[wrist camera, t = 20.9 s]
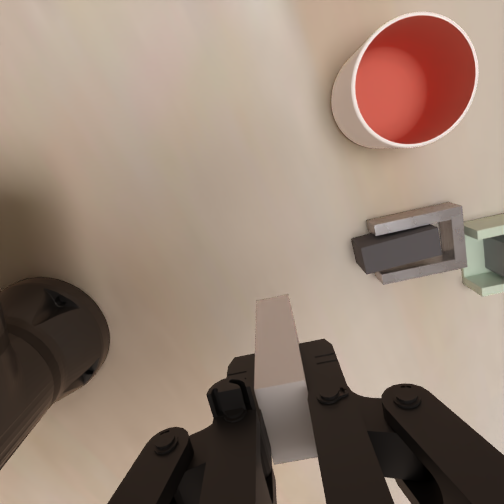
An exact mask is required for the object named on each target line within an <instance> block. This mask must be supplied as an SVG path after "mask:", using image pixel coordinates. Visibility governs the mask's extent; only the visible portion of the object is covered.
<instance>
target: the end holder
mask: <svg viewBox="0 0 504 504" xmlns="http://www.w3.org/2000/svg"><path fill="white" fill-rule="evenodd" d="M464 233H465V245H466V256H467V267H466V268H462V278H463V284H464V285H466V286H467V287H469V288H470V289H472V290H473V291H475V292H476V293H478V294H479V295H481V296H482V297H483V296H488V295H493V294H498V293H503V292H504V277H502V276H501V275H499V274H497V273H495V272H493V271H491V270H489V269H487V268H485V258H484V246H483V239H485V238H490V237H494V236H499V235H504V213H503V214H499V215H494V216H489V217H485V218H480V219H476V220H471V221H467V222H464Z"/></svg>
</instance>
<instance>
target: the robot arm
mask: <svg viewBox="0 0 504 504" xmlns="http://www.w3.org/2000/svg"><path fill="white" fill-rule="evenodd" d="M108 350H109V330H108V326H107V323H106V320H105V318H104V316H103V314H102V312H101V311H100V309H99V308H98V306H97V305H96V304H95V303H94V301H93V300H92V299H91V298H90V297H89V296H87V295H86V294H85V293H84V292H82V291H81V290H80V289H78V288H76V287H75V286H73V285H71V284H69V283H66V282H63V281H60V280H57V279H52V278H30V279H25V280H22V281H19V282H17V283H15V284H13V285H11V286H9V287H7V288H6V289H4V290H2V291H0V470H1V469H2V467H3V466H4V465H5V463H6V462H7V461H8V460H9V458H10V457H11V456H12V455H13V453H14V452H15V451H16V449H17V448H18V447H19V446H20V444H21V443H22V442H23V441H24V439H25V438H26V437H27V436H28V434H29V433H30V432H31V430H32V429H33V428H34V427H35V425H36V424H37V423H38V422H39V420H40V419H41V418H42V416H43V415H44V414H45V413H46V411H47V410H48V409H49V408H50V406H51V405H52V404H53V403H55V402H56V401H58V400H60V399H62V398H63V397H65V396H67V395H69V394H70V393H72V392H74V391H76V390H77V389H79V388H81V387H82V386H84V385H85V384H86V383H87V382H88V381H90V380H91V379H92V377H93V376H94V375H95V374H96V372H97V371H98V370H99V368H100V367H101V366H102V364H103V362H104V361H105V359H106V356H107V353H108ZM207 398H208V401H209V405H210V408H211V411H212V414H213V417H214V419H213V424H211V425H210V426H209V427H207V428H205V429H203V430H201V431H199V432H197V433H195V434H192V435H190V436H189V435H188V432H187V431H186V430H185V429H184V428H180V427H173V428H168V429H165V430H163V431H161V432H159V433H157V434H156V435H155V436H153V437H152V438H151V439H150V440H149V442H148V443H147V444H146V445H145V447H144V448H143V450H142V451H141V453H140V455H139V456H138V458H137V459H136V461H135V462H134V464H133V465H132V467H131V468H130V470H129V471H128V473H127V474H126V476H125V478H124V479H123V481H122V482H121V484H120V485H119V487H118V488H117V490H116V491H115V493H114V494H113V496H112V497H111V499H110V501H109V502H108V504H277V501H276V480H275V476H274V472H273V469H272V458H273V462H274V465H275V464H281V463H286V462H292V461H298V460H304V459H309V458H315V457H318V460H319V466H320V471H321V477H322V482H323V487H324V493H325V498H326V504H394V502H393V499H392V496H391V494H390V491H389V489H388V486H387V483H386V481H385V478H384V477H388V478H395V480H396V482H397V484H398V486H399V487H400V489H401V490H402V491H403V493H404V494H405V495H406V497H407V498H408V500H409V501H410V502H411V504H504V455H503V454H502V453H501V452H499V451H498V450H497V449H496V448H495V447H493V446H492V445H491V444H490V443H489V442H488V441H486V440H485V439H484V438H483V437H482V436H481V435H479V434H478V433H477V432H476V431H475V430H474V429H472V428H471V427H470V426H469V425H468V424H467V423H465V422H464V421H463V420H462V419H461V418H460V417H458V416H457V415H456V414H455V413H454V412H452V411H451V410H450V409H449V408H448V407H447V406H445V405H444V404H443V403H442V402H441V401H440V400H438V399H437V398H436V397H435V396H434V395H433V394H431V393H430V392H429V391H428V390H426V389H424V388H423V387H421V386H417V385H414V384H398V385H393V386H391V387H389V388H387V389H386V390H385V391H384V393H383V394H382V398H368V397H363V396H360V395H357V394H356V393H354V392H352V391H351V390H350V388H349V387H348V386H347V384H346V381H345V378H344V376H343V373H342V370H341V368H340V365H339V362H338V360H337V357H336V354H335V351H334V349H333V346H332V344H330V343H329V342H328V341H326V340H325V339H320V340H315V341H310V342H305V343H300V344H299V340H298V335H297V331H296V326H295V322H294V317H293V313H292V308H291V304H290V300H289V295H288V294H286V295H281V296H277V297H272V298H267V299H262V300H258V301H256V334H255V354H250V355H245V356H240V357H235V358H234V359H233V360H232V362H231V363H230V364H229V366H228V372H227V378H226V379H223V380H220V381H219V382H217V383H215V384H214V385H213V386H212V387H211V388H210V389H209V391H208V393H207ZM271 454H272V458H271Z"/></svg>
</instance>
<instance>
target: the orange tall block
mask: <svg viewBox="0 0 504 504" xmlns="http://www.w3.org/2000/svg"><path fill="white" fill-rule="evenodd" d="M483 246H484V258H485V268H487V269H489V270H491V271H493V272H495V273H497V274H499V275H501V276H502V277H504V235H499V236H494V237H490V238H485V239H483Z"/></svg>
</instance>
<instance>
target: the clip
mask: <svg viewBox="0 0 504 504" xmlns="http://www.w3.org/2000/svg"><path fill="white" fill-rule="evenodd" d="M366 221H367V227H368V231H370V232H371V233H372V234H374V235H375V236H378V235H383V234H387V233H392V232H397V231H401V230H406V229H410V228H415V227H419V226H424V225H429V224H433V223H438V222H439V226H440V235H441V245H442V255H439V256H435V257H432V258H428V259H424V260H420V261H416V262H412V263H408V264H405V265H401V266H397V267H393V268H389V269H385V270H382V271H378V272H375V276H376V277H377V279H378V280H379V281H380V282H381V283H382V284H383V285H384V284H389V283H394V282H399V281H403V280H408V279H413V278H418V277H423V276H428V275H432V274H437V273H442V272H447V271H452V270H456V269H461V268H466V267H467V256H466V245H465V233H464V222H463V210H462V206H461V205H457V204H453V203H450V202H446V203H441V204H437V205H432V206H428V207H423V208H419V209H414V210H410V211H405V212H401V213H396V214H392V215H388V216H383V217H379V218H374V219H370V220H366Z"/></svg>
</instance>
